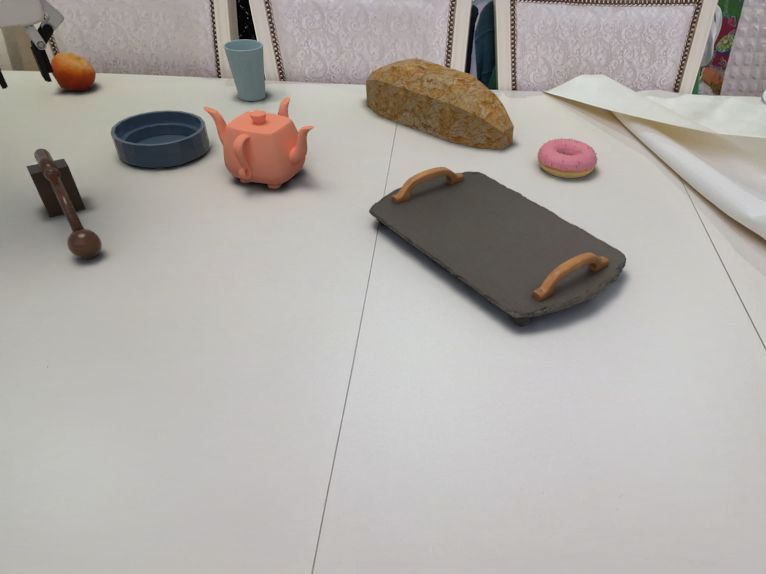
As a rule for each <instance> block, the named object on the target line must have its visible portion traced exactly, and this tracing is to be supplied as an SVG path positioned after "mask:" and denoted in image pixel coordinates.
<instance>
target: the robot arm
mask: <svg viewBox="0 0 766 574" xmlns="http://www.w3.org/2000/svg"><path fill="white" fill-rule="evenodd" d="M45 14H46V18H45ZM64 20H65V17H64V15H63V14H62V13H61V12H60V11H59V10H58V9H57V8H56V7H54V6H53V5H52V4H51V3H49V2H48V1H47V0H0V29H1V30H2V29H9V28H18V27H22V28H23V29H24V31H25V33H26V34H27V36H28V37H29V38H30V47H29V48H30V50H31V52H32V56H33V57H34V60H35V63H36V65H37V68H38V70H39V72H40V75H41V77H42V78H43V80H44V81H45V82H47V83H52V82H53V81H52V78H51V74H52V73H53V72H54V71H53V69H52V66H51V61H50V58H49V55H48V53H47V51H46V49H47V45H48V43H49V41H50V39H51V38H52V36H53V34H54V32H55V31H56V30H57V29H58V28H59V27H60V26H61V24H63V22H64ZM39 23H40V25H39V26H38V28H36V27H35V25H37V24H39ZM0 87H1V89H2V90H6V89H8V87H9V86H8V83H7V81H6V79H5V77H4V74H3V72H2V70H1V69H0Z"/></svg>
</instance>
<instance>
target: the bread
mask: <svg viewBox="0 0 766 574" xmlns="http://www.w3.org/2000/svg"><path fill="white" fill-rule="evenodd" d="M365 93H366V105H367V107H368V108H369V109H370V110H371V111H373V112H374V113H375V114H376V115H378V116H379V117H381V118H384V119H387V120H389V121H392V122H395V123H397V124H400V125H403V126H405V127H408V128H411V129H414V130H417V131H419V132H423V133H424V134H428V135H431V136H434V137H435V138H439V139H442V140H444V141H447V142H450V143H453V144H458V145H463V146H468V147H474V148H479V149H480V148H481V149H490V150H491V149H492V150H500V151H501V150H503V149H505V148H507V147H509V146H511V145H512V144H513V138H514V129H515V125H514V123H513V121H512V120H511V117H510V116H509V114H508V111H507V109H506V107H505V104H504V103H503V102H502V101H501V99H500V98H499V97H498V95H497V94H496V93H495V92H494V91H492V90H491V89H489V88H488V87H487V86H486V85H485V84H484V83H482V82H481V81H480V80H479V79H478V78H477V77H476V76H474V75H473V74H471V73H468V72H465V71H461V70H459V69H454V68H451V67H448V66H445V65H441V64H438V63H434V62H431V61H428V60H424V59H422V58H418V57H414V58H409V59H403V60H398V61H394V62H391V63H389V64H386V65H382V66H381V67H379V68H376V69H375V70H373V71H371V73H370V74H369V75H368V77H367V78H366V80H365Z"/></svg>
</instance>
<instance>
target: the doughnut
mask: <svg viewBox="0 0 766 574" xmlns="http://www.w3.org/2000/svg"><path fill="white" fill-rule="evenodd" d="M536 157H537V160H538V164H539V166H540V167H541V169H542V170H543V171H545V172H546V173H548V174H550V175H552V176H555V177H559V178H563V179H577V178H583V177H585V176H587V175H589V174H591V172H593V171H594V169H595V167H596V165H597V163H598V156H597V153H596V151H595V150H594V148H593V146H590V145H589V144H588V143H585V142H584V141H580V140H577V139H573V138H562V137H561V138H554V139H551V140H548V141H547V142H544V143H543V144H542V145H541V146H540V148H539V149H538V151H537V156H536Z"/></svg>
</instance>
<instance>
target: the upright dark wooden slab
mask: <svg viewBox="0 0 766 574" xmlns="http://www.w3.org/2000/svg"><path fill="white" fill-rule="evenodd" d="M53 160H54V159H53ZM54 162H55V164H56V166H57V168H58V170H59V172H60V174H61V177H60V179H61V181H62V183H63V185H64V188H65V190H66V192H67V194H68V196H69V198H70V200H71V202H72V205H73V207H74V209H75V211H76V212H77V211H81V210H86V206H85V203H84V200H83V199H82V196H81V193H80V191H79V188H78V186H77V184H76V180H75V179H74V176H73V174H72V171H71V169H70V167H69V165H68V163H67V161H66V159H65V158H60V159H55V160H54ZM25 167H26V168H27V171H28V174H29V176H30V178H31V180H32V182H33V185H34V187H35V189H36V191H37V193H38V195H39V198H40V199H41V202H42V204H43V206H44V208H45V211H46V213H47V215H48V217H49V218H51V217H56V216H60V215H65V214H64V212H63V210H62V208H61V205H60V203H59V201H58V199H57V197H56V195H55V193H54V190H53V188H52V186H51V184H50V182H49V181H48V180H47V179H46V178H45V177H44V175H43V173H42V171H41V169H40V167H39V165H38V163H34V164H30V165H26V166H25Z"/></svg>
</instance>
